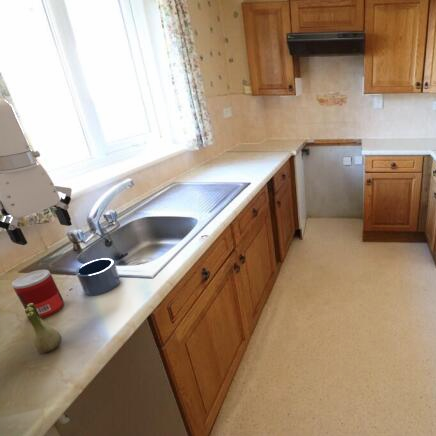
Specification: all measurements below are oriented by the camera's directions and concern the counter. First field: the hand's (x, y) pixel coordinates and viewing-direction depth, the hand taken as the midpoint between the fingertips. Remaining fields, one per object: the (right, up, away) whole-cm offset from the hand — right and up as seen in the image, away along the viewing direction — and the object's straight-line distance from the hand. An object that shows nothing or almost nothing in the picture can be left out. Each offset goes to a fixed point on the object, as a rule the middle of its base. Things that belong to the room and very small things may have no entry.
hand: (45, 233), depth 75 cm
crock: (-5, -17, +26) cm, 31 cm away
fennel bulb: (-1, -28, +3) cm, 28 cm away
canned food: (-14, -22, +16) cm, 31 cm away
